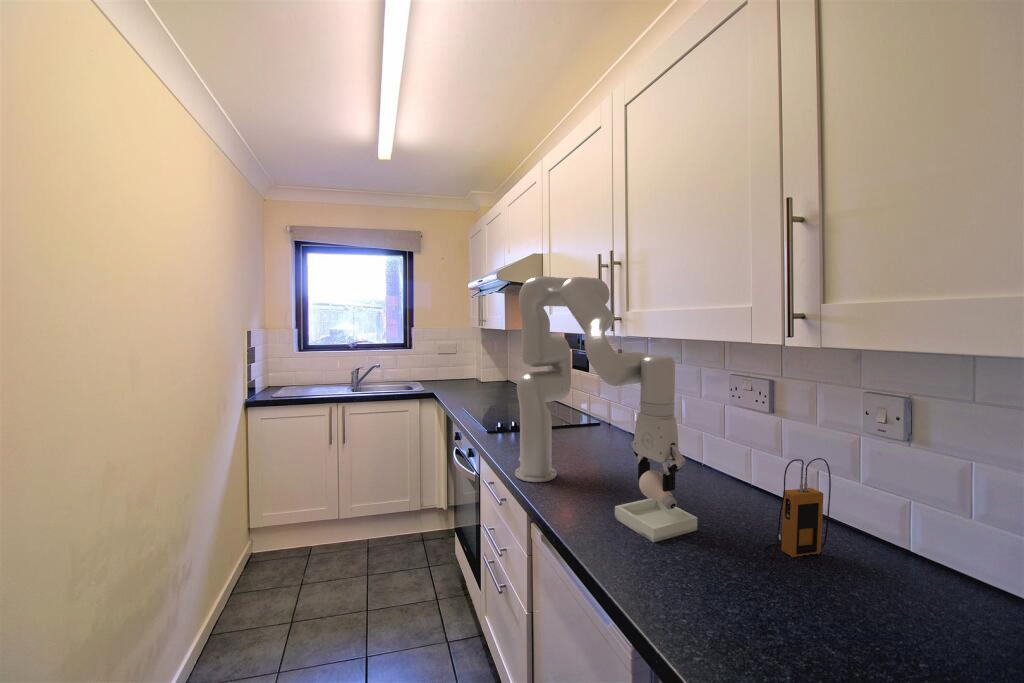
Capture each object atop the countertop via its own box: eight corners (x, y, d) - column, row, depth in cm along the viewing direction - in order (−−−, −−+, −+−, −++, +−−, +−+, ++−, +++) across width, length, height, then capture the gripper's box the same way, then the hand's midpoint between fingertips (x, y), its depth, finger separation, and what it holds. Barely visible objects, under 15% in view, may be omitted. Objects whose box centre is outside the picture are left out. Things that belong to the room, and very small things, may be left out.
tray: (614, 518, 110) (614, 506, 110) (656, 508, 116) (656, 496, 116) (653, 542, 99) (653, 529, 98) (697, 530, 104) (697, 517, 104)
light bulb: (687, 490, 100) (658, 461, 109) (660, 499, 98) (633, 468, 108) (685, 513, 102) (657, 483, 112) (660, 522, 101) (633, 490, 110)
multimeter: (796, 530, 104) (800, 444, 103) (836, 553, 94) (840, 457, 93) (740, 537, 101) (743, 448, 100) (775, 561, 91) (779, 462, 90)
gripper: (619, 404, 112) (618, 475, 113) (673, 418, 96) (671, 501, 97) (643, 401, 115) (642, 471, 116) (699, 414, 99) (697, 495, 100)
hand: (656, 484), depth 107 cm, fingers closed on light bulb, 7 cm apart
